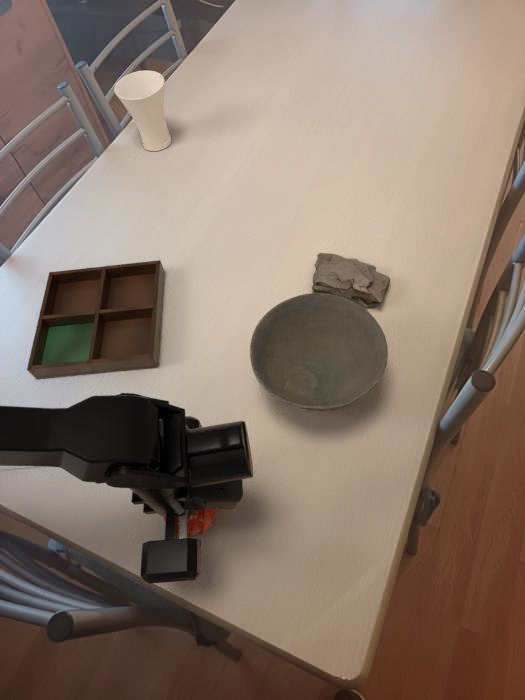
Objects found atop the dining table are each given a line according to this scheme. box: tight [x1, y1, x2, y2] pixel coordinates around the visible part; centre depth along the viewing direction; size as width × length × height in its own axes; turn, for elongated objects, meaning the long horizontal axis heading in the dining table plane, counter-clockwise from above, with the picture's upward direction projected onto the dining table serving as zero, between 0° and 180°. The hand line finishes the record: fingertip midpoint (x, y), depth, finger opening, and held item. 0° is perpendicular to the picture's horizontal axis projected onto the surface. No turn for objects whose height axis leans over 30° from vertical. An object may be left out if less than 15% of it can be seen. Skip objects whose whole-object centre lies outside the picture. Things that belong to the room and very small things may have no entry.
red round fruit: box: [163, 509, 218, 538], centre depth 65 cm, size 7×7×10 cm
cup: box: [113, 69, 172, 152], centre depth 107 cm, size 10×10×14 cm
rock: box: [311, 252, 391, 308], centre depth 85 cm, size 14×9×4 cm
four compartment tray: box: [26, 259, 166, 380], centre depth 86 cm, size 20×20×3 cm
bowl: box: [249, 292, 389, 412], centre depth 73 cm, size 19×19×10 cm
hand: (189, 512), depth 66 cm, fingers open, 9 cm apart
